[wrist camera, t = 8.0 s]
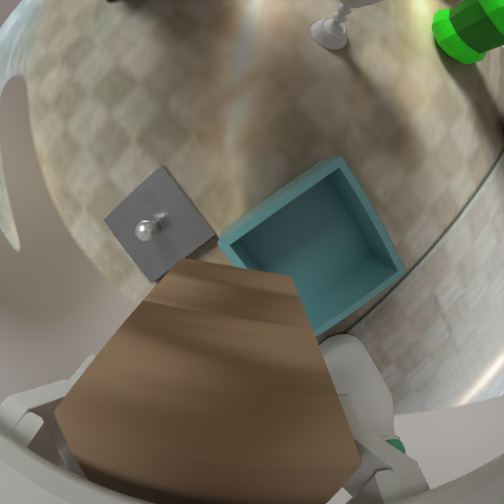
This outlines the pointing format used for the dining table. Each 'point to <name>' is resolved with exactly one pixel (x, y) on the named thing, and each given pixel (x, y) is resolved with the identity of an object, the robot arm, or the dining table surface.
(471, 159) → the dining table surface
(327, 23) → the chalice
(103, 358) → the brown wooden block
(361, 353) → the milk bottle
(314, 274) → the bin
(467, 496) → the robot arm
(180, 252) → the gray square plate
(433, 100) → the dining table surface
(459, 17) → the plastic bottle
